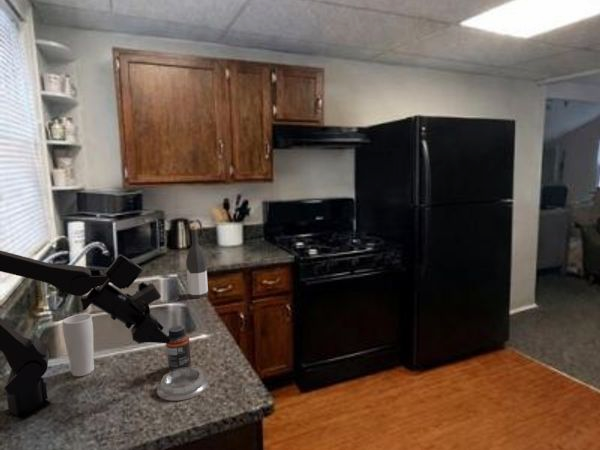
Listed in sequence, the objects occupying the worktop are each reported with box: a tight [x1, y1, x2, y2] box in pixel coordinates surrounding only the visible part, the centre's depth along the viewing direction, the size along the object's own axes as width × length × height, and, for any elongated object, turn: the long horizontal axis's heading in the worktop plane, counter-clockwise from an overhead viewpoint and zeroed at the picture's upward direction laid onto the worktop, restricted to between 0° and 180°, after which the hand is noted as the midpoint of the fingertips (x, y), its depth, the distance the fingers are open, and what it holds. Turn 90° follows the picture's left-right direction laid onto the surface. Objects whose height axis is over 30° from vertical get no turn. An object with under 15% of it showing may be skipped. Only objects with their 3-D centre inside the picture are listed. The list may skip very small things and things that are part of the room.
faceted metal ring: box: [156, 366, 209, 402], centre depth 95 cm, size 12×12×2 cm
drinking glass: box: [62, 313, 95, 377], centre depth 102 cm, size 7×7×15 cm
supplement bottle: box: [165, 325, 192, 372], centre depth 103 cm, size 6×6×11 cm
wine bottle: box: [185, 225, 209, 299], centre depth 163 cm, size 8×8×30 cm
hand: (165, 335), depth 101 cm, fingers open, 9 cm apart
